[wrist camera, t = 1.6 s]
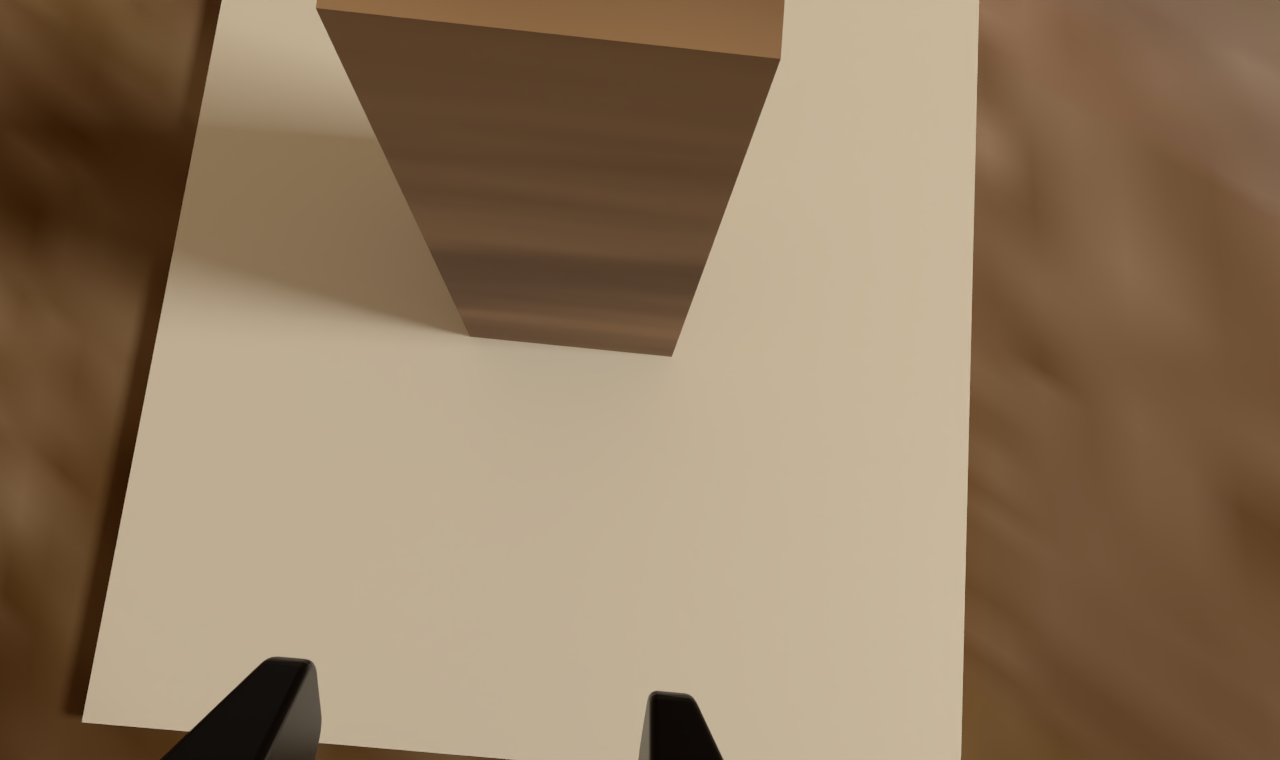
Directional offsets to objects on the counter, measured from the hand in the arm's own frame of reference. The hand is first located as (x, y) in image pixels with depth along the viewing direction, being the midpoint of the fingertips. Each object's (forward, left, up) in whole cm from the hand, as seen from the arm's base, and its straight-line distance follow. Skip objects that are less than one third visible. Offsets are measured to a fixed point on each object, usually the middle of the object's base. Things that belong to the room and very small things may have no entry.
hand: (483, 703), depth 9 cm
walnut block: (+9, 0, -12) cm, 15 cm away
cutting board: (+9, 0, -13) cm, 15 cm away
